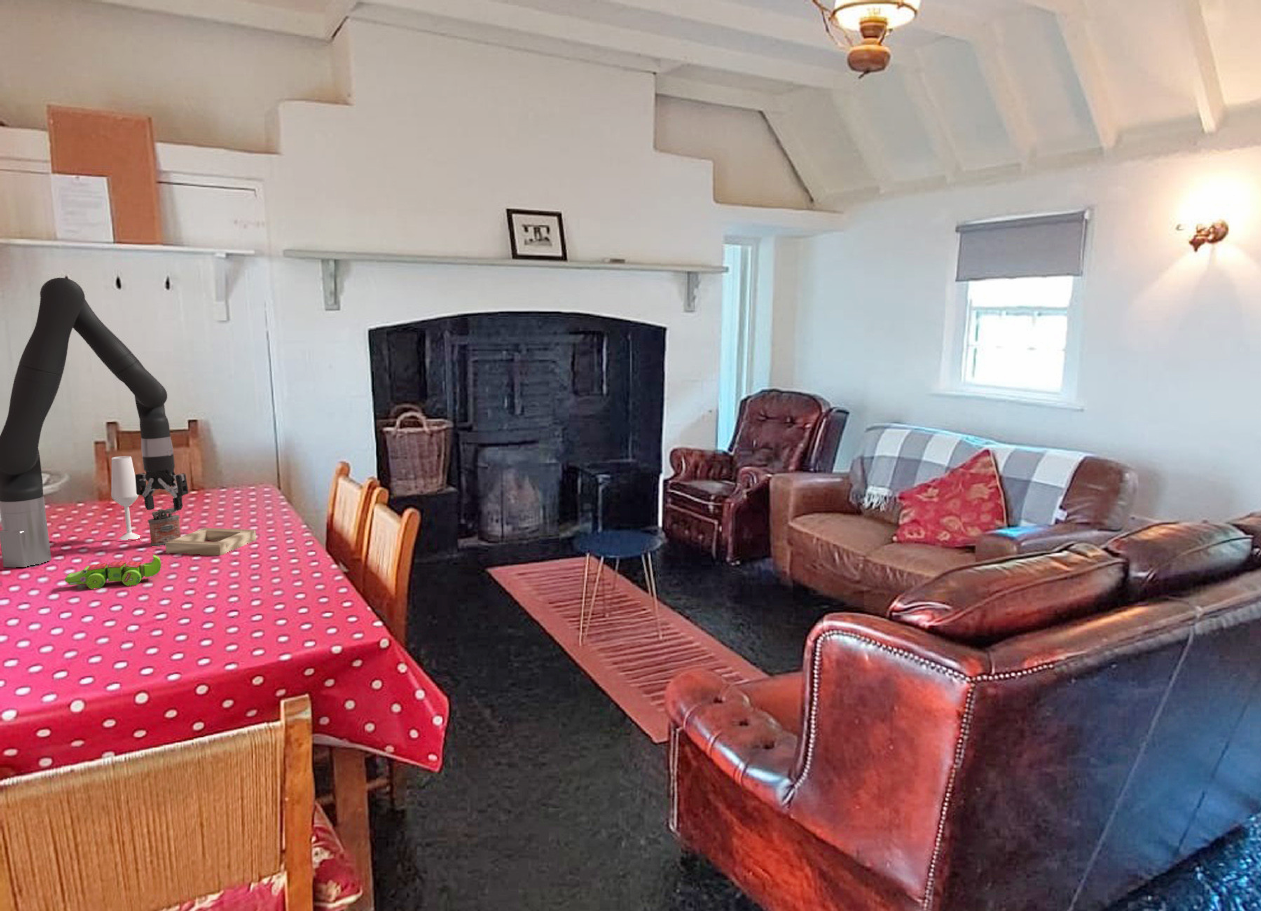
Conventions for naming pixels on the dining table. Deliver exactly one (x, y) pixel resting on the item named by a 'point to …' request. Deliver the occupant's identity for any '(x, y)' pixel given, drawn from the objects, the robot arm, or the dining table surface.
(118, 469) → the champagne flute
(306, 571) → the dining table surface
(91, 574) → the toy crocodile
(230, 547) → the square beige frame
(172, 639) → the dining table surface
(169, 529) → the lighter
